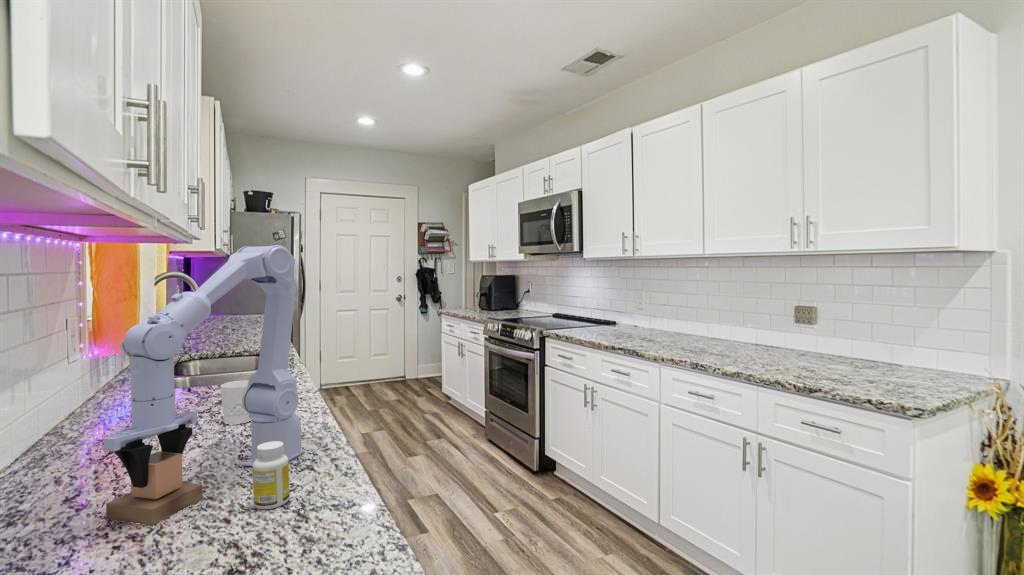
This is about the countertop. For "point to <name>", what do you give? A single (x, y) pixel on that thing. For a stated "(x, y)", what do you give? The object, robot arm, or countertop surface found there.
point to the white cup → (234, 402)
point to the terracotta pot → (161, 475)
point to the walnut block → (153, 505)
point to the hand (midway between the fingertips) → (155, 479)
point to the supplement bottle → (270, 476)
